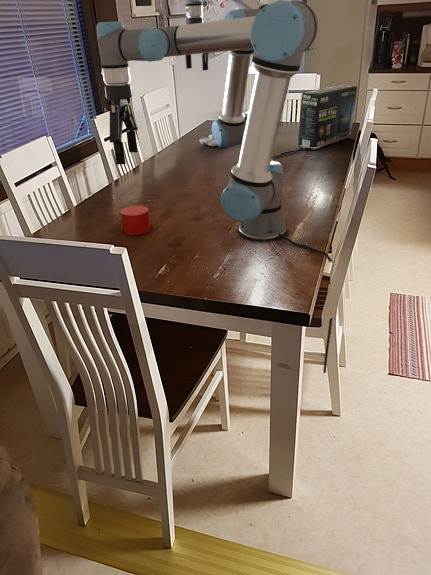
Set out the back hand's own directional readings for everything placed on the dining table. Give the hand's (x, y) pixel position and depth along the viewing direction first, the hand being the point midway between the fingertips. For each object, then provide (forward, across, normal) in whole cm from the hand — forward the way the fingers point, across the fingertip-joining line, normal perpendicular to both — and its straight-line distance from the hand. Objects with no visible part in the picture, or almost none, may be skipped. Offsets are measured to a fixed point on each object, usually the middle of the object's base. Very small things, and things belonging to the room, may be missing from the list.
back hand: (197, 69), depth 217 cm
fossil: (+39, -8, +16) cm, 43 cm away
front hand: (+15, +66, -73) cm, 99 cm away
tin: (+39, +66, -73) cm, 106 cm away
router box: (+39, +32, +59) cm, 77 cm away
